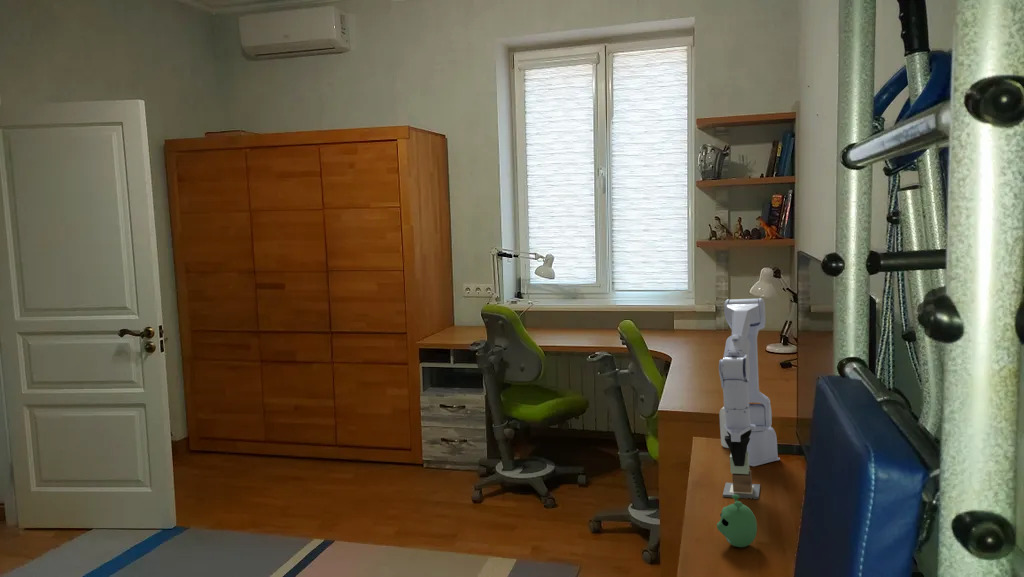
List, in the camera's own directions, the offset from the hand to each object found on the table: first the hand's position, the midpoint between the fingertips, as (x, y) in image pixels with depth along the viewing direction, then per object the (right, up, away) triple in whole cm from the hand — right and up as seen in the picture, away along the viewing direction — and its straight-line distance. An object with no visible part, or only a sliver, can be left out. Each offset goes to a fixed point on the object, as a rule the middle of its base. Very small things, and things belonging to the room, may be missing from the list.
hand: (740, 462), depth 167 cm
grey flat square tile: (+1, -7, 0) cm, 7 cm away
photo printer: (+11, -4, +37) cm, 38 cm away
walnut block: (+1, -6, 0) cm, 7 cm away
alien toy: (-9, -10, -27) cm, 30 cm away
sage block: (0, -2, 0) cm, 2 cm away
